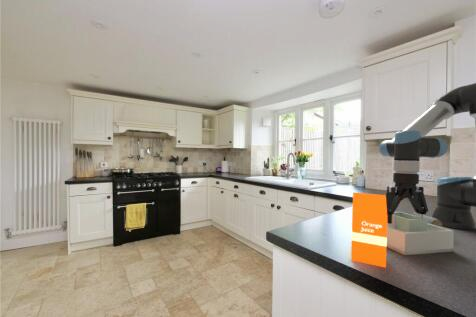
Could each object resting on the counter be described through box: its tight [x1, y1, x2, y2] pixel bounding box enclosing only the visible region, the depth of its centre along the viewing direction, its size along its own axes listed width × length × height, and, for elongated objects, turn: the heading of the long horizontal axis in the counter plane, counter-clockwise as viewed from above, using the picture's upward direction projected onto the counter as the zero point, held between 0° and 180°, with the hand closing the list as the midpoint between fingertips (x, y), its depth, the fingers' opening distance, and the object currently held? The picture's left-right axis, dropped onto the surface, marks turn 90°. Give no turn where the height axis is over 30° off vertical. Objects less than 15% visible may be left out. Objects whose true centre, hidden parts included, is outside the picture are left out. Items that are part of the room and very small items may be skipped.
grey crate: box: [386, 223, 455, 256], centre depth 80 cm, size 20×18×7 cm
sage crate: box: [393, 211, 428, 232], centre depth 80 cm, size 8×10×9 cm
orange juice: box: [350, 192, 388, 268], centre depth 66 cm, size 8×9×20 cm
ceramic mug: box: [423, 214, 443, 228], centre depth 91 cm, size 11×8×8 cm
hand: (403, 231), depth 80 cm, fingers open, 11 cm apart
